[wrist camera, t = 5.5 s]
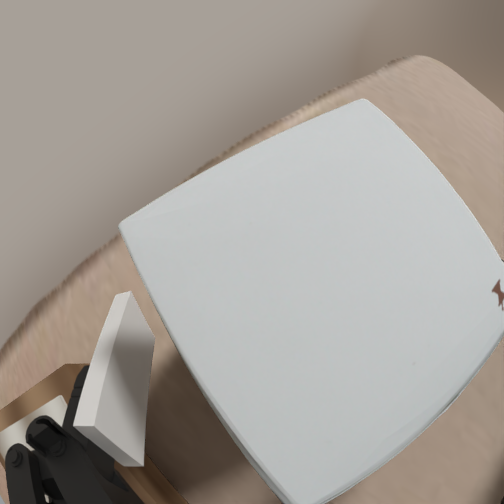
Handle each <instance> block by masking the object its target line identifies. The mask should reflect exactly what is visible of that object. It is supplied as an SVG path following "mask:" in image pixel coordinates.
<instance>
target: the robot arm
mask: <svg viewBox="0 0 504 504" xmlns="http://www.w3.org/2000/svg"><path fill="white" fill-rule="evenodd" d="M501 260H502V259H501ZM502 262H503V264H504V261H503V260H502ZM154 343H155V337H154V335H153V333H152V331H151V329H150V327H149V326H148V324H147V322H146V320H145V318H144V316H143V314H142V312H141V310H140V308H139V306H138V304H137V302H136V300H135V298H134V296H133V294H132V292H131V291H129V292H125V293H121V294H117V295H116V296H115V298H114V301H113V303H112V306H111V308H110V311H109V313H108V316H107V319H106V321H105V324H104V326H103V329H102V332H101V335H100V337H99V340H98V343H97V346H96V349H95V352H94V355H93V358H92V361H91V364H90V365H86V366H84V367H83V368H82V370H81V371H80V372H79V374H78V375H77V377H76V380H75V383H74V386H73V388H74V389H73V390H72V393H71V398H70V399H69V403H68V406H67V410H66V413H65V417H64V420H63V424H62V427H61V426H60V425H59V424H58V423H57V422H56V421H55V420H54V419H52V418H51V417H49V416H47V415H42V416H39V417H37V418H35V419H34V420H33V421H32V422H31V423H30V424H29V426H28V428H27V430H26V435H25V439H26V443H27V444H28V445H29V446H31V447H32V448H33V449H35V450H32V451H31V450H29V449H28V448H27V447H26V446H24V445H23V444H20V443H17V444H14V445H12V446H11V447H10V448H9V449H8V451H7V453H6V456H5V470H6V479H7V488H8V494H9V501H10V504H145V503H144V502H143V501H142V500H141V499H140V497H139V496H138V495H137V494H136V493H135V492H134V490H133V489H132V488H131V487H130V486H129V484H128V483H127V482H126V481H125V479H124V478H123V477H122V475H121V474H120V473H119V472H118V471H117V470H116V469H115V468H114V462H115V460H116V461H117V462H119V463H120V464H121V465H123V466H144V446H145V429H146V415H147V403H148V393H149V383H150V374H151V366H152V358H153V350H154ZM45 495H47V496H48V499H49V503H48V502H46V498H45ZM501 504H504V497H503V499H502V501H501Z"/></svg>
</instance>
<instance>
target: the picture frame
mask: <svg viewBox="0 0 504 504" xmlns="http://www.w3.org/2000/svg"><path fill="white" fill-rule="evenodd" d="M86 365H90V364H65V365H63V366H62V367H60V368H59V369H57V370H56V371H55V372H53V373H52V374H50V375H49V376H48V377H46V378H45V379H43V380H42V381H40V382H39V383H38V384H36V385H35V386H33V387H32V388H31V389H29V390H28V391H26V392H25V393H24V394H22V395H21V396H19V397H18V398H17V399H15V400H14V401H12V402H11V403H10V404H8V405H7V406H6V407H4V408H3V409H1V410H0V462H1V464H2V466H3V467H4V469H5V456H6V453H7V451H8V449H9V448H10V447H11V446H12V445H14V444H17V443H20V444H23V445H24V446H26V447H27V448H28V449H29V450H31V451H32V450H35V449H33V448H32V447H31V446H29V445H28V444H27V443H26V439H25V435H26V430H27V428H28V426H29V424H30V423H31V422H32V421H33V420H34V419H35V418H37V417H39V416H42V415H47V416H49V417H51V418H52V419H54V420H55V421H56V422H57V423H58V424H59V425H60V426H61V427H62V424H63V420H64V417H65V413H66V410H67V406H68V403H69V399H70V398H71V393H72V390H73V389H74V388H73V386H74V383H75V380H76V377H77V375H78V374H79V372H80V371H81V370H82V368H83V367H84V366H86ZM114 468H115V469H116V470H117V471H118V472H119V473H120V474H121V475H122V477H123V478H124V479H125V481H126V482H127V483H128V484H129V486H130V487H131V488H132V489H133V490H134V492H135V493H136V494H137V495H138V496H139V497H140V499H141V500H142V501H143V502H144V503H145V504H188V503H187V501H186V500H185V499H184V498H183V497H182V496H181V495H180V494H179V493H178V492H177V491H176V490H175V488H174V487H173V486H172V485H171V484H170V483H169V481H168V480H167V479H166V478H165V477H164V476H163V474H162V473H161V472H160V471H159V469H158V468H157V467H156V466H155V464H154V463H153V462H152V461H151V459H150V458H149V457H148V455H147V454H146V453H145V451H144V466H123V465H121V464H120V463H119V462H117V461H116V460H115V462H114ZM5 471H6V470H5ZM45 498H46V502H48V503H49V499H48V496H47V495H45Z"/></svg>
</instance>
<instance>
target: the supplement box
mask: <svg viewBox="0 0 504 504" xmlns="http://www.w3.org/2000/svg"><path fill="white" fill-rule="evenodd" d="M118 229H119V231H120V233H121V235H122V237H123V239H124V242H125V244H126V247H127V249H128V251H129V253H130V256H131V258H132V260H133V262H134V264H135V266H136V269H137V271H138V273H139V275H140V277H141V279H142V281H143V283H144V285H145V287H146V289H147V291H148V293H149V296H150V298H151V300H152V302H153V304H154V306H155V308H156V310H157V312H158V314H159V316H160V318H161V320H162V322H163V324H164V326H165V328H166V329H167V331H168V333H169V335H170V337H171V339H172V341H173V343H174V345H175V347H176V348H177V350H178V352H179V354H180V356H181V357H182V359H183V361H184V363H185V365H186V366H187V368H188V370H189V372H190V373H191V375H192V377H193V378H194V380H195V382H196V383H197V385H198V387H199V388H200V390H201V392H202V393H203V395H204V397H205V398H206V400H207V401H208V403H209V404H210V406H211V408H212V409H213V411H214V412H215V414H216V415H217V417H218V418H219V420H220V421H221V423H222V424H223V426H224V427H225V429H226V430H227V432H228V433H229V435H230V436H231V437H232V439H233V440H234V442H235V443H236V445H237V446H238V447H239V449H240V450H241V451H242V453H243V454H244V456H245V457H246V458H247V460H248V461H249V462H250V464H251V465H252V466H253V467H254V469H255V470H256V471H257V473H258V474H259V475H260V476H261V478H262V479H263V480H264V481H265V483H266V484H267V485H268V486H269V488H270V489H271V490H272V491H273V492H274V494H275V495H276V496H277V497H278V498H279V499H280V501H281V502H282V503H283V504H325V503H327V502H328V501H330V500H332V499H334V498H336V497H337V496H339V495H341V494H343V493H344V492H346V491H347V490H349V489H350V488H352V487H353V486H355V485H356V484H357V483H359V482H360V481H362V480H363V479H365V478H366V477H368V476H369V475H371V474H372V473H373V472H375V471H376V470H378V469H379V468H380V467H382V466H383V465H384V464H386V463H387V462H388V461H390V460H391V459H392V458H394V457H395V456H396V455H397V454H399V453H400V452H401V451H402V450H403V449H405V448H406V447H407V446H408V445H409V444H410V443H411V442H413V441H414V440H415V439H416V438H417V437H418V436H419V435H420V434H421V433H423V432H424V431H425V430H426V429H427V428H428V427H429V426H430V425H431V424H432V423H433V422H434V421H435V420H436V419H437V418H438V417H439V416H440V415H441V414H443V413H444V412H445V411H446V410H447V409H448V408H449V407H450V406H451V404H452V403H453V402H454V401H455V400H456V399H457V398H458V396H459V395H460V394H461V393H462V391H463V390H464V389H465V388H466V386H467V385H468V384H469V383H470V381H471V380H472V379H473V378H474V377H475V375H476V374H477V373H478V371H479V370H480V369H481V367H482V366H483V365H484V363H485V362H486V361H487V359H488V358H489V357H490V355H491V354H492V352H493V351H494V349H495V348H496V347H497V345H498V344H499V342H500V341H501V339H502V338H503V336H504V264H503V262H502V260H501V258H500V257H499V255H498V253H497V251H496V250H495V248H494V246H493V245H492V243H491V241H490V240H489V238H488V237H487V235H486V233H485V232H484V230H483V229H482V227H481V226H480V224H479V223H478V221H477V220H476V218H475V217H474V215H473V214H472V212H471V211H470V210H469V208H468V207H467V205H466V204H465V203H464V201H463V200H462V199H461V197H460V196H459V195H458V194H457V192H456V191H455V190H454V188H453V187H452V186H451V185H450V183H449V182H448V181H447V180H446V178H445V177H444V176H443V175H442V173H441V172H440V171H439V170H438V169H437V167H436V166H435V165H434V164H433V163H432V162H431V161H430V159H429V158H428V157H427V156H426V155H425V154H424V153H423V152H422V151H421V150H420V149H419V147H418V146H417V145H416V144H415V143H414V142H413V141H412V140H411V139H410V138H409V137H408V136H407V135H406V134H405V133H404V132H403V131H402V130H401V129H400V128H399V127H398V126H397V125H396V124H395V123H394V122H393V121H392V120H391V119H390V118H389V117H387V116H386V115H385V114H384V113H383V112H382V111H381V110H379V109H378V108H377V107H376V106H374V105H373V104H372V103H370V102H369V101H368V100H366V99H359V100H356V101H354V102H351V103H349V104H346V105H344V106H341V107H339V108H336V109H334V110H331V111H329V112H326V113H324V114H322V115H319V116H317V117H315V118H312V119H310V120H308V121H306V122H303V123H301V124H299V125H297V126H294V127H292V128H290V129H288V130H285V131H283V132H281V133H279V134H277V135H274V136H272V137H270V138H268V139H266V140H264V141H262V142H260V143H258V144H256V145H254V146H252V147H250V148H248V149H246V150H244V151H242V152H240V153H238V154H236V155H234V156H232V157H230V158H228V159H226V160H224V161H223V162H221V163H219V164H217V165H215V166H213V167H211V168H210V169H208V170H206V171H204V172H202V173H201V174H199V175H197V176H195V177H193V178H192V179H190V180H188V181H186V182H185V183H183V184H181V185H179V186H178V187H176V188H174V189H172V190H171V191H169V192H167V193H166V194H164V195H162V196H161V197H159V198H157V199H156V200H154V201H153V202H151V203H150V204H148V205H147V206H145V207H143V208H142V209H140V210H138V211H137V212H135V213H134V214H132V215H130V216H129V217H127V218H126V219H124V220H123V221H121V223H119V225H118Z"/></svg>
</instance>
